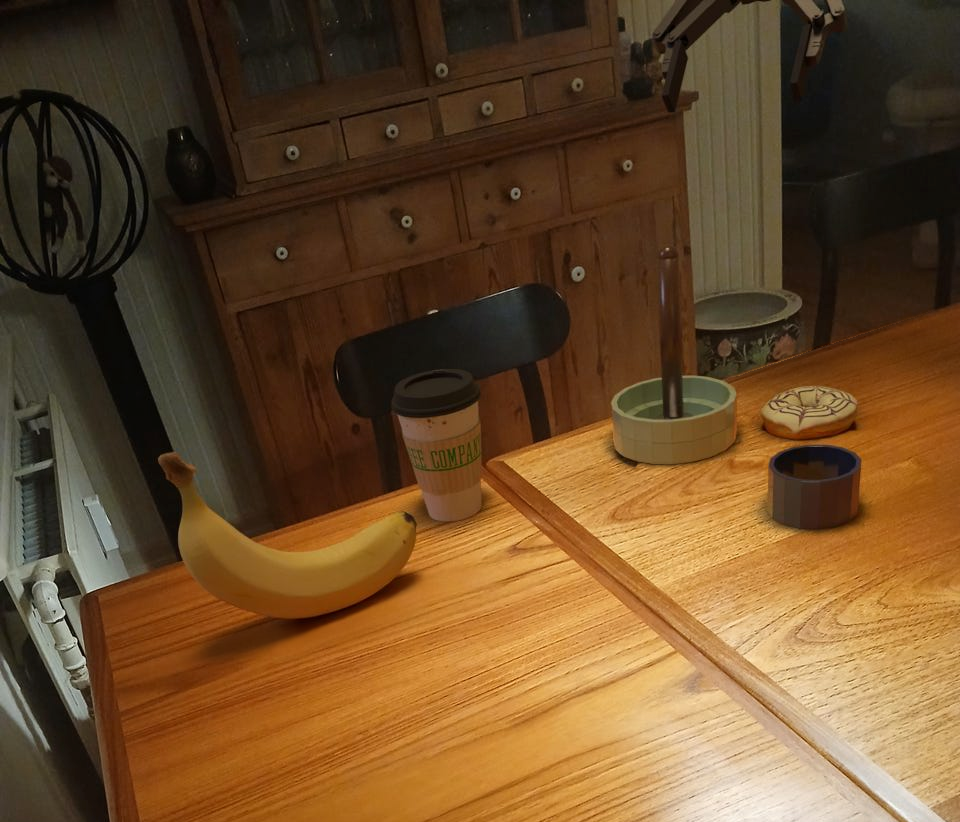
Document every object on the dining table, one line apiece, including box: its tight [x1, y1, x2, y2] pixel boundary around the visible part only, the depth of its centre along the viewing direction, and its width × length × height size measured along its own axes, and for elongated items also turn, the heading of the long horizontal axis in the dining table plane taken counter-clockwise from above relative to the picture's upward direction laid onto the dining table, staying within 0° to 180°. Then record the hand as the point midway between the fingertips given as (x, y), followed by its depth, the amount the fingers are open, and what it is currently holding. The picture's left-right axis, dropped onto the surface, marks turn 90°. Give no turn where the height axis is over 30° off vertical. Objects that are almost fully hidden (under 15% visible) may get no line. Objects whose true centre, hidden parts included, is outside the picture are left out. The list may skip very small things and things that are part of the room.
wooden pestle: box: [654, 244, 693, 420], centre depth 113 cm, size 5×5×22 cm
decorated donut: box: [760, 385, 858, 440], centre depth 117 cm, size 10×11×4 cm
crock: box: [766, 444, 863, 531], centre depth 98 cm, size 9×9×6 cm
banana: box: [157, 451, 418, 620], centre depth 93 cm, size 23×6×20 cm, turn 117°
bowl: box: [610, 375, 738, 465], centre depth 117 cm, size 14×14×6 cm
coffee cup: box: [390, 368, 483, 523], centre depth 109 cm, size 10×10×15 cm
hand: (729, 98), depth 103 cm, fingers open, 13 cm apart
